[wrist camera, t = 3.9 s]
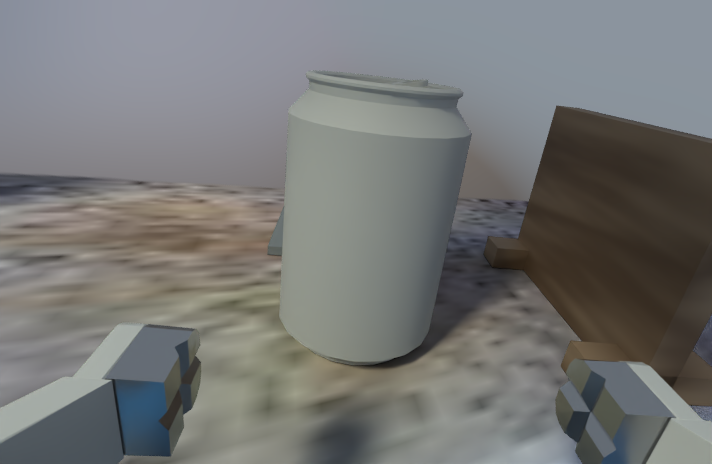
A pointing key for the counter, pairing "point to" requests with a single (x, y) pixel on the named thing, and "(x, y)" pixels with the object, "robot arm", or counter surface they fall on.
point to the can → (368, 212)
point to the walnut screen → (622, 243)
